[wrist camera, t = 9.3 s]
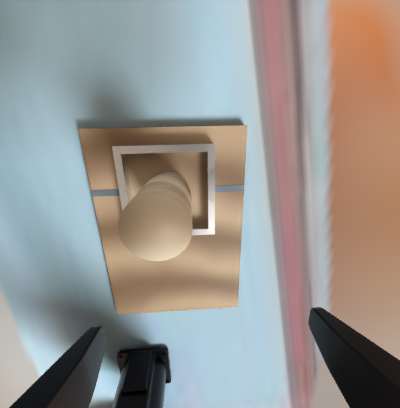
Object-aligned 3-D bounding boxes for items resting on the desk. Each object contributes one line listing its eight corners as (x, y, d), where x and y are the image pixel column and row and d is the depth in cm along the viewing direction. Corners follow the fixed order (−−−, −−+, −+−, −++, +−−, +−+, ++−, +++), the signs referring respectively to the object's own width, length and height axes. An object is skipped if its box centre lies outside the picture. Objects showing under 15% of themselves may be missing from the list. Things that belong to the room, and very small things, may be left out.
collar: (213, 228, 20) (214, 234, 19) (130, 232, 19) (126, 238, 18) (213, 143, 17) (215, 143, 16) (117, 145, 17) (111, 146, 16)
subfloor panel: (235, 301, 24) (237, 307, 23) (119, 308, 23) (117, 314, 23) (244, 125, 18) (247, 125, 17) (83, 129, 17) (77, 128, 16)
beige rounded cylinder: (191, 210, 19) (193, 259, 11) (149, 211, 19) (123, 263, 11) (190, 168, 18) (191, 193, 10) (145, 169, 18) (112, 196, 10)
